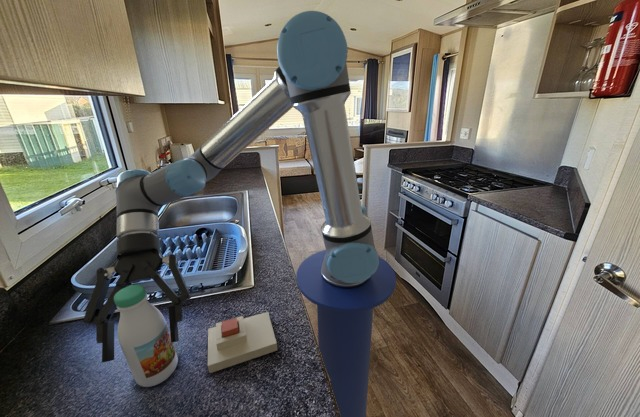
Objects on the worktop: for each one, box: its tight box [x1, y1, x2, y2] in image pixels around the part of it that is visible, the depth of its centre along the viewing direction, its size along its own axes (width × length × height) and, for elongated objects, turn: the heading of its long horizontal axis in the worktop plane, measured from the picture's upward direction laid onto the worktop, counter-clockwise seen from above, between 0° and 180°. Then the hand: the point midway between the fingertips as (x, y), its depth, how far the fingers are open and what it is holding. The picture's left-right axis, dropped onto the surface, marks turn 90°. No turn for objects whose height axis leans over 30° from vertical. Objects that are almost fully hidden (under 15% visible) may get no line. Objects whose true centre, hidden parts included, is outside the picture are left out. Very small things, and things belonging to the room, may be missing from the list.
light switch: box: [207, 311, 278, 374], centre depth 59 cm, size 14×10×4 cm
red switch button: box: [221, 317, 239, 338], centre depth 58 cm, size 3×3×2 cm
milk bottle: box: [114, 284, 179, 388], centre depth 50 cm, size 8×8×20 cm
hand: (142, 351), depth 48 cm, fingers open, 10 cm apart
